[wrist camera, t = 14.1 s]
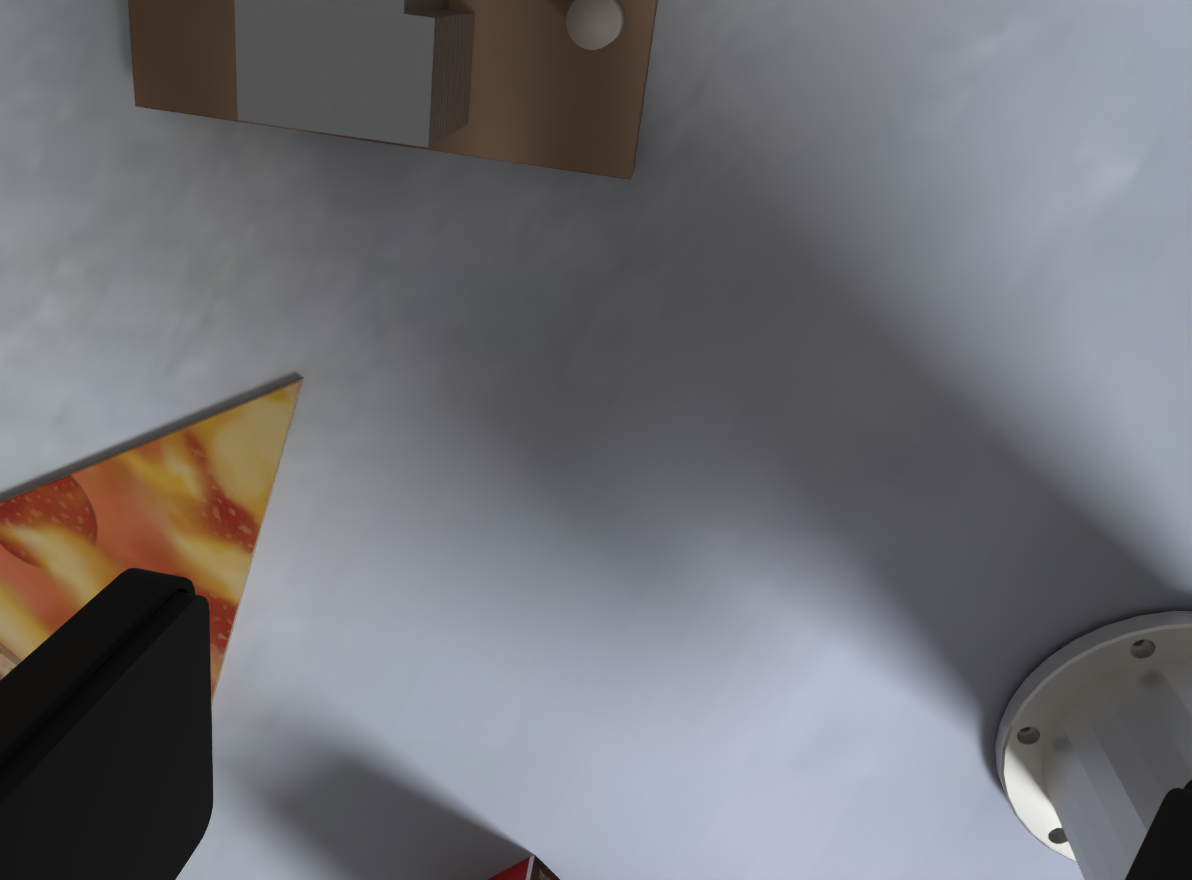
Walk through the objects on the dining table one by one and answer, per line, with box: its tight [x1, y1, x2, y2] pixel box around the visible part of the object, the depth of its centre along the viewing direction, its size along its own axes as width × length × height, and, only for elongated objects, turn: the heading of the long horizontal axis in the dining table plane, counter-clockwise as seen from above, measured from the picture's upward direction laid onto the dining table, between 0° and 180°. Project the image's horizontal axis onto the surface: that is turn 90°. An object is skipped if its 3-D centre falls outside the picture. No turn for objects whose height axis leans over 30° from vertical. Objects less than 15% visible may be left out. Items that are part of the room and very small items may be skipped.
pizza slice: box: [0, 378, 303, 706], centre depth 42 cm, size 16×22×2 cm
